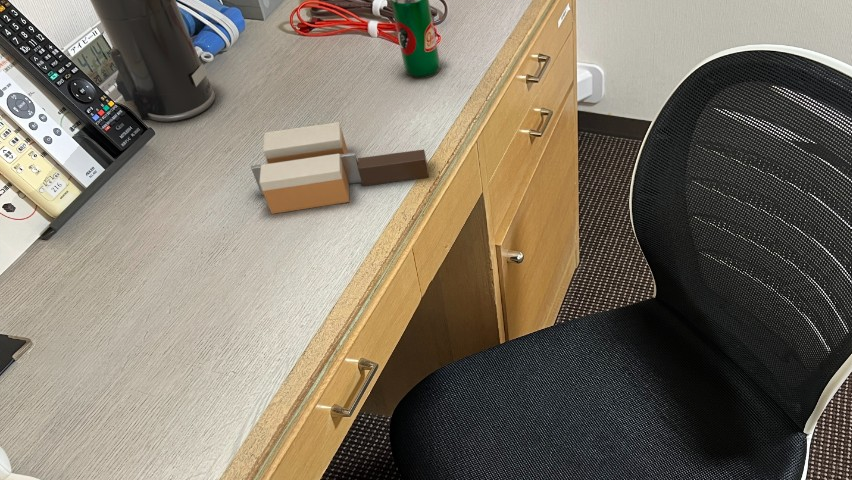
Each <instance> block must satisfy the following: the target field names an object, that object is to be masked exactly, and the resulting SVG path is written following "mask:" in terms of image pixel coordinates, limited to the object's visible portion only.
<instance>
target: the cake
mask: <svg viewBox="0 0 852 480" xmlns="http://www.w3.org/2000/svg"><path fill="white" fill-rule="evenodd" d="M263 135H264V137H263V147H262V151H263V154H264V157H265V159H266V162H267V164H270V163H278V162H285V161H291V160H298V159H305V158H312V157H319V156H325V155H332V154H346V153H349V150H348V147H347V143H346V140H345V139H346V138H345V137H344V133H343V130H342V127H341V123H340V121H337V122H330V123H322V124H316V125H307V126H302V127H295V128H288V129H281V130H274V131H266V132H264V134H263Z"/></svg>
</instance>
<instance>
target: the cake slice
mask: <svg viewBox="0 0 852 480" xmlns="http://www.w3.org/2000/svg"><path fill="white" fill-rule="evenodd" d="M263 164H264V165H263ZM263 164H260V165H261V172H260V185H261V188H262V190H263V193H264V195H263V196H264V198H265V200H266V203H267V205H268V208H269V211H270V214H272V215H273V214H281V213H287V212H292V211H293V212H294V211H299V210H305V209H311V208H318V207H319V208H320V207H325V206H331V205H338V204H339V205H340V204H344V203H350V184H349V183H348V180H347V177H346V173H345V170H344V167H343V164H342V160H341V157H340V154H332V155H325V156H319V157H312V158H305V159H298V160H291V161H285V162H278V163H271V164H268V163H263Z"/></svg>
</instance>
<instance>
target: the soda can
mask: <svg viewBox="0 0 852 480" xmlns="http://www.w3.org/2000/svg"><path fill="white" fill-rule="evenodd" d="M389 1H390V6H391V11H392V15H393V16H392V17H393V20H394V24H395V30H396V34H397V39H398V43H399V49H400V53H401V58H402V62H403V66H404V71H405V72H406V73H407V75H409V76H411V77H413V78H418V79H421V78H429V77H432V76H434V75H435V74H437V73H438V72H439V70H440V68H441V62H440V61H441V60H440V55H439V50H438V44H437V39H436V38H437V37H436V34H435V33H436V32H435V28H434V22H433V15H432V11H431V6H430V5H431V4H430V0H389Z"/></svg>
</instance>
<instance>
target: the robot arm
mask: <svg viewBox="0 0 852 480" xmlns="http://www.w3.org/2000/svg"><path fill="white" fill-rule="evenodd" d="M89 1H90V3H91V5H92V7H93V10H94V11H95V13H96V15H97V18H98V19H99V21H100V23H101V25H102V27H103V30H104V32H105V33H106V36H107V38H108V40H109V42H110V44H111V51H110V52H109V53H110V57H111V59H112V62H113V63H114V65H115V68H116V69H117V76H116V78H115V82H114V83H115V84H116V89H117V91H118V93H119V94H121V96H122V98H123V100H124V102H125V103H127V102H133V104H134V106H135V109H136V111H137V112H138V114H139V116H140V118H141V120H153V121H157V122H176V121H182V120H185V119H189V118H192V117H195V116H197V115H199V114H201V113H203V112H204V111H206V110H207V109H208V108H210V107H211V105H212V104H213V103H214V102H215V100H216V94H215V91H214V89H213V87H212V86H211V83H210V80H209V78H208V76H207V75H208V72H207V70H206V68H205V65H204V63H202V62H201V59H200V56H199V54H198V52H197V49H196V47H195V44H194V42H193V40H192V38H191V37H192V36H191V34H190V32H189V30H188V28H187V25H186V22H185V20H184V18H183V15H182V12H181V10H180V8H179V5H178V3H177V1H176V0H89Z"/></svg>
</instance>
